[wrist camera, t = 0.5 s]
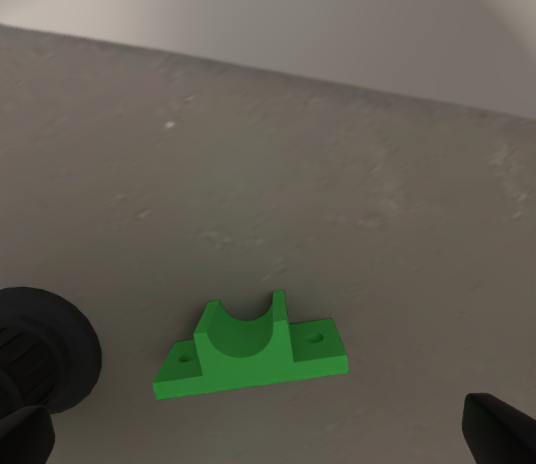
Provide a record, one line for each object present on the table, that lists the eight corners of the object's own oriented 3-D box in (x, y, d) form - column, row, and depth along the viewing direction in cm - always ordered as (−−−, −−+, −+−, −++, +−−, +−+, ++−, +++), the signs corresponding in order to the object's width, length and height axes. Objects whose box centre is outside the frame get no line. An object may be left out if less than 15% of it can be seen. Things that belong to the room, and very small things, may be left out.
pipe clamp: (326, 281, 22) (342, 311, 17) (333, 331, 22) (350, 372, 18) (166, 307, 22) (139, 343, 17) (178, 356, 23) (155, 402, 18)
